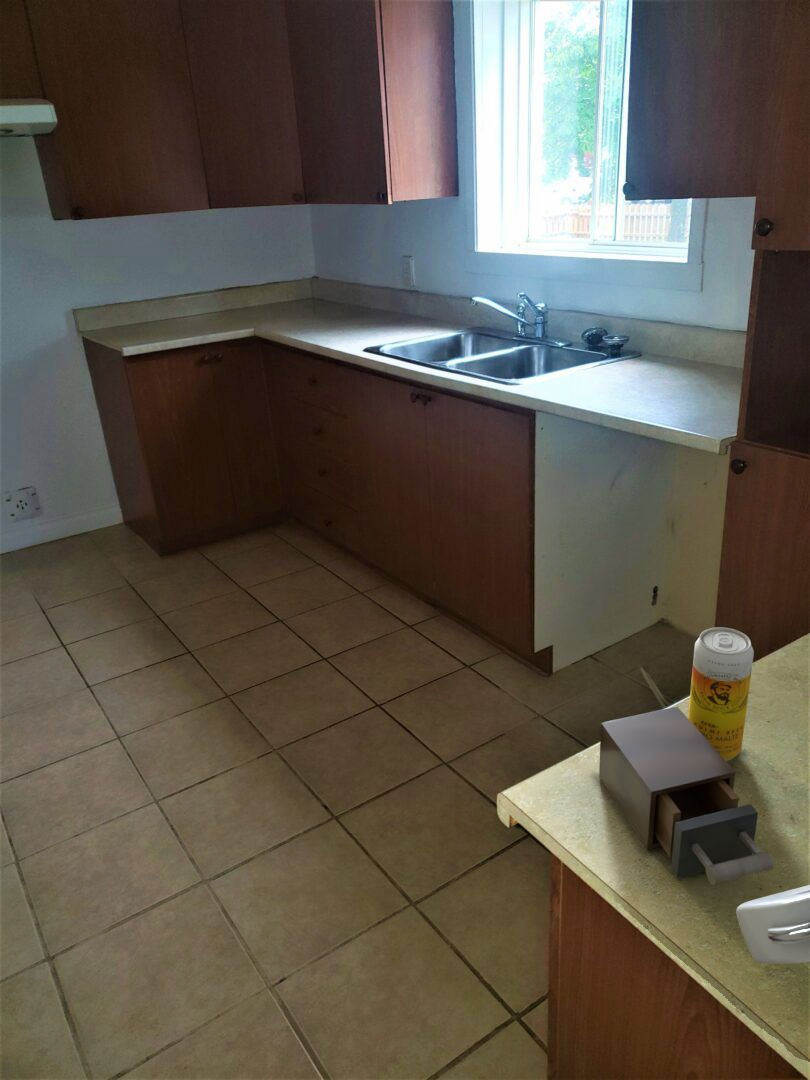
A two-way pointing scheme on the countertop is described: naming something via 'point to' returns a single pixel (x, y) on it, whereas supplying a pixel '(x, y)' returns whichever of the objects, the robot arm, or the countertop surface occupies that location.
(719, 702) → the beer can
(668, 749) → the cabinet
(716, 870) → the drawer
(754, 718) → the countertop surface
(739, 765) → the countertop surface
